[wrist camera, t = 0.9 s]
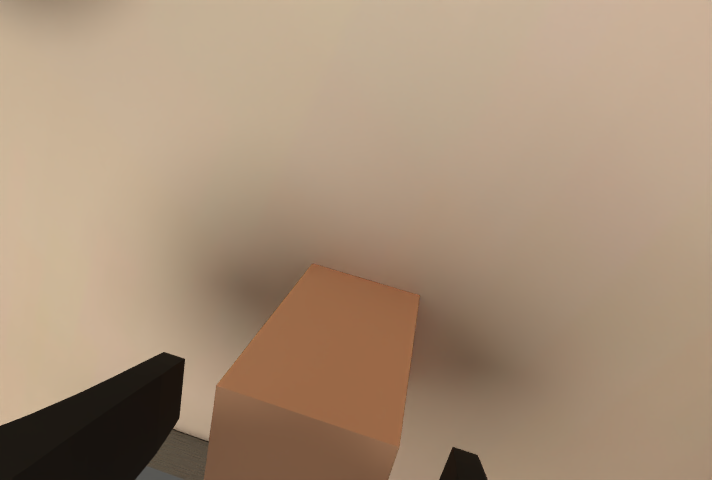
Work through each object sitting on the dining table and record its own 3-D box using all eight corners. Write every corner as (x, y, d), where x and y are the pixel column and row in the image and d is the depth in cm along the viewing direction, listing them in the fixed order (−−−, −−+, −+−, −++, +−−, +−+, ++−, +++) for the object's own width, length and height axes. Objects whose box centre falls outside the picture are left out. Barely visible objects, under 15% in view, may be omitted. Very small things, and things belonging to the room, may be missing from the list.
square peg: (419, 295, 15) (399, 447, 9) (391, 385, 17) (355, 572, 10) (312, 263, 16) (216, 385, 9) (293, 353, 17) (199, 514, 11)
